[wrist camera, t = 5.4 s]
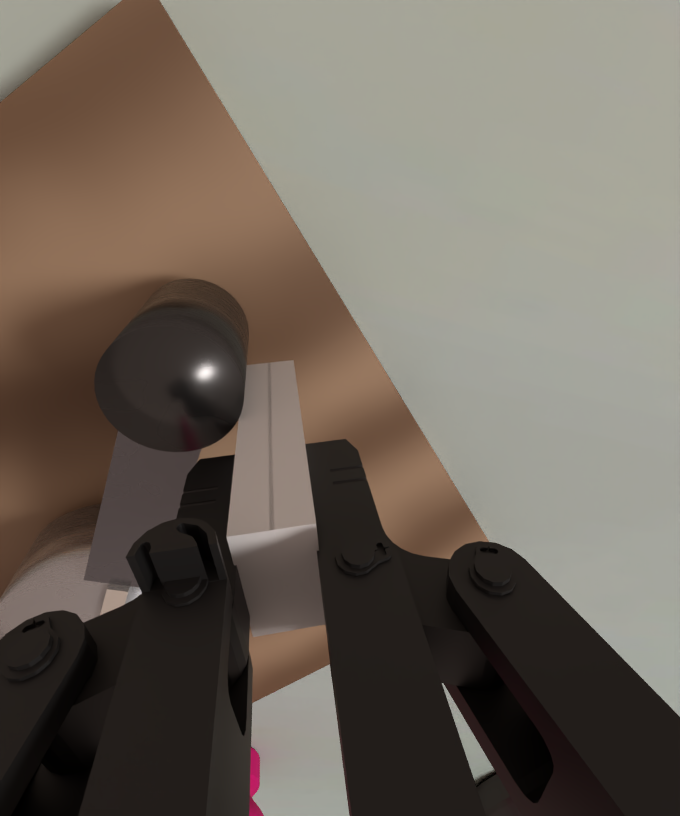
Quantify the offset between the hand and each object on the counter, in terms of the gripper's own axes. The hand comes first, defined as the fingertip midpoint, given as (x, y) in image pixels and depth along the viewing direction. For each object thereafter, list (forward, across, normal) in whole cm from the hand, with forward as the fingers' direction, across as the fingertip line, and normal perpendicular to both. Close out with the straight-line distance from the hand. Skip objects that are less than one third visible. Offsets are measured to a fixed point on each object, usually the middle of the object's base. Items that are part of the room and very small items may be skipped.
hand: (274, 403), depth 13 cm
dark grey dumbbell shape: (+1, +5, +4) cm, 6 cm away
